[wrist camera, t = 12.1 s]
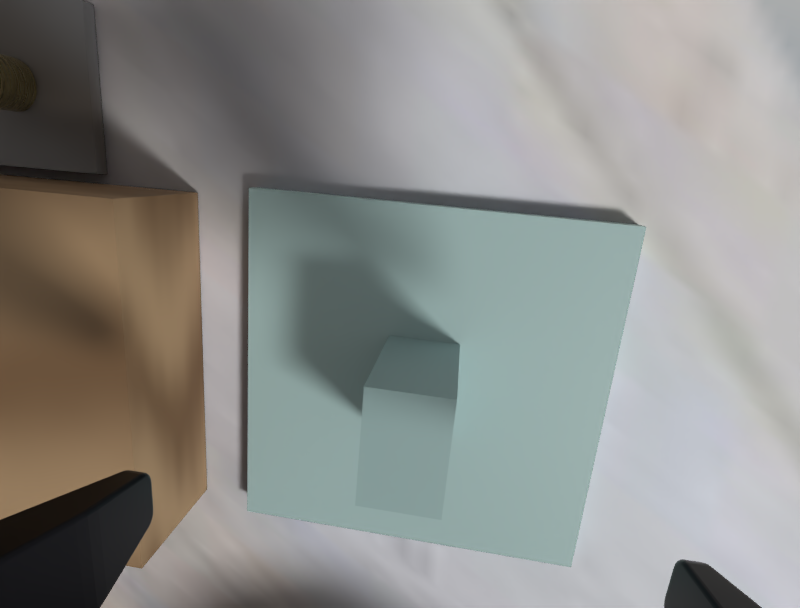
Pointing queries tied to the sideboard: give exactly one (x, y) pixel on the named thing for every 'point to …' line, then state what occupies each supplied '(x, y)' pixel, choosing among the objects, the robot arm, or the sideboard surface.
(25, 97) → the key
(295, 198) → the lid
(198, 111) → the sideboard surface
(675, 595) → the robot arm
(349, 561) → the sideboard surface
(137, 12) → the sideboard surface
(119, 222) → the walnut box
